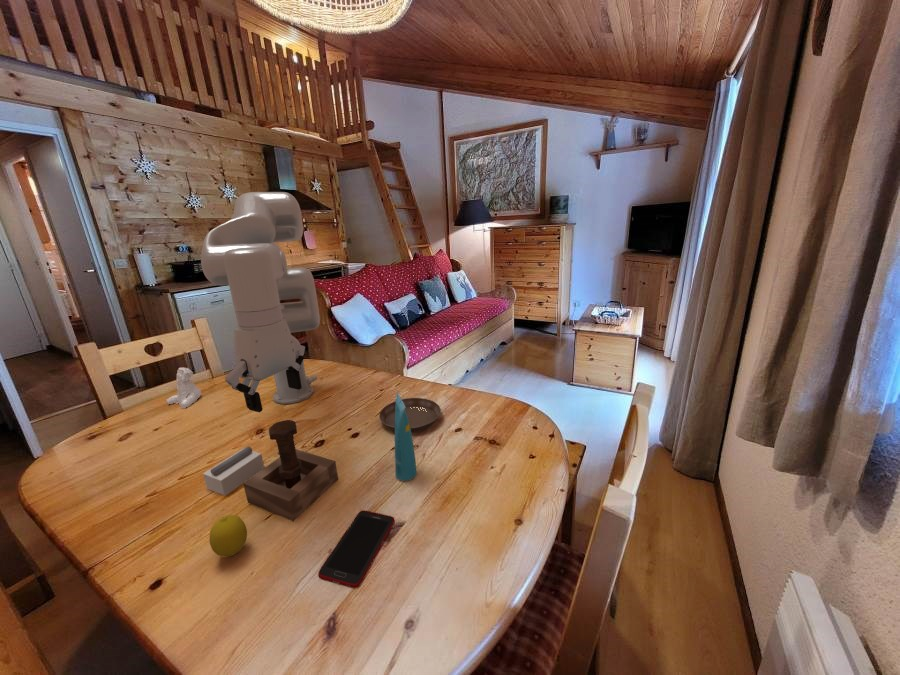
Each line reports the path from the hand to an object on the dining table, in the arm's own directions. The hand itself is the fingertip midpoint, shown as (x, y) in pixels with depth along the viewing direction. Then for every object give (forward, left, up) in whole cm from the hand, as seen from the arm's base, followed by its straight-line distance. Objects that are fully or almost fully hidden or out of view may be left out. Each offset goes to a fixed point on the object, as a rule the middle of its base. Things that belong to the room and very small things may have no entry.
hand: (276, 398), depth 73 cm
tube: (-14, +20, -23) cm, 33 cm away
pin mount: (+2, -16, -22) cm, 27 cm away
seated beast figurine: (-18, -67, -23) cm, 73 cm away
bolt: (0, 0, -22) cm, 22 cm away
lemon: (+16, +2, -23) cm, 28 cm away
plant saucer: (-35, +9, -23) cm, 43 cm away
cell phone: (+6, +22, -23) cm, 33 cm away
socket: (0, 0, -22) cm, 22 cm away
